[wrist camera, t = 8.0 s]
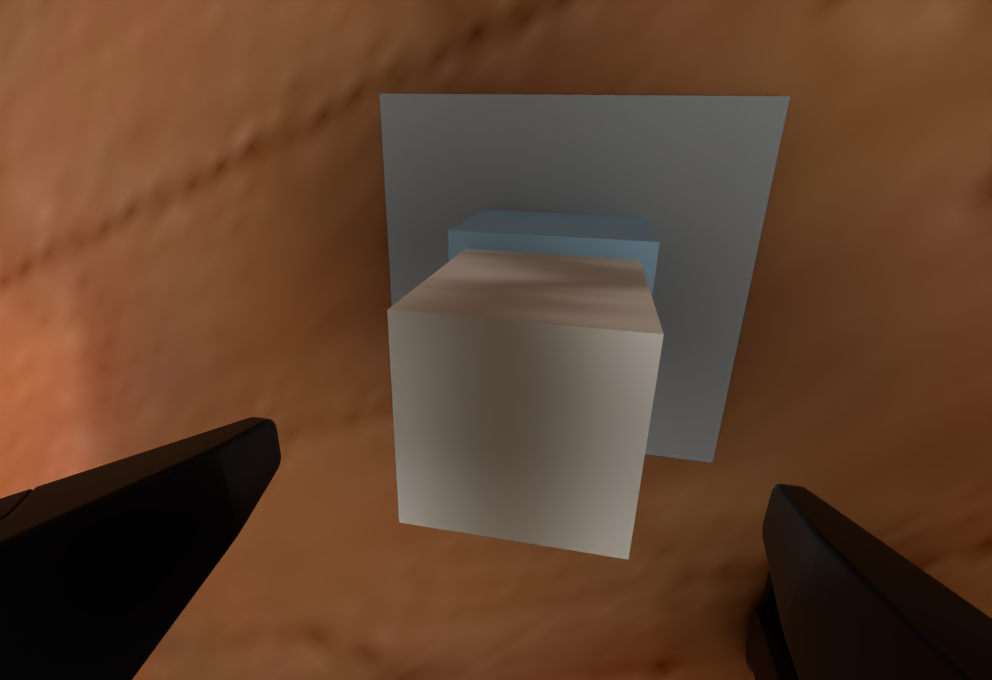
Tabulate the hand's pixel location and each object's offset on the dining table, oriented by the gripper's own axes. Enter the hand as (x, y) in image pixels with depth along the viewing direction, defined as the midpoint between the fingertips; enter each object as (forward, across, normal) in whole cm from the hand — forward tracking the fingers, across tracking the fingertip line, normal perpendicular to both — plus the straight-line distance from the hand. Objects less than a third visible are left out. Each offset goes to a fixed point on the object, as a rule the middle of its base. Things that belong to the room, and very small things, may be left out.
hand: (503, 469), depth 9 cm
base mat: (+13, 0, 0) cm, 13 cm away
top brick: (+7, 0, 0) cm, 7 cm away
